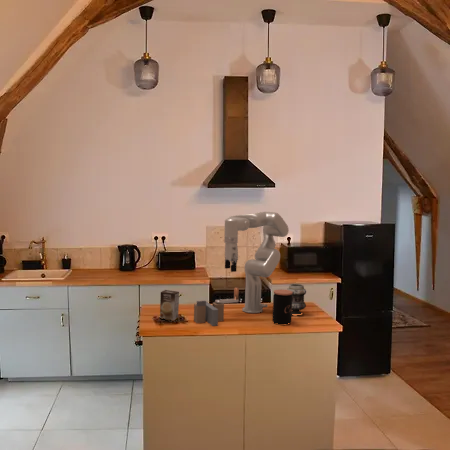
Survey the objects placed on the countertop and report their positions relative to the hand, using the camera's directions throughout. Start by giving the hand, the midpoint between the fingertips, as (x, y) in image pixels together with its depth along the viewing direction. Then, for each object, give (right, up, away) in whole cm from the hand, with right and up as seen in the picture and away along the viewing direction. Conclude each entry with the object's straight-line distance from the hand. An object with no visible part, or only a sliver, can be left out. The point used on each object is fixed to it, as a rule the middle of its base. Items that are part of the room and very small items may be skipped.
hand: (230, 269), depth 292 cm
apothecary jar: (+39, -28, +16) cm, 51 cm away
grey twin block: (-12, -28, -4) cm, 31 cm away
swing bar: (-2, -18, -1) cm, 19 cm away
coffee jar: (+29, -30, -3) cm, 42 cm away
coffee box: (-35, -28, -3) cm, 45 cm away
